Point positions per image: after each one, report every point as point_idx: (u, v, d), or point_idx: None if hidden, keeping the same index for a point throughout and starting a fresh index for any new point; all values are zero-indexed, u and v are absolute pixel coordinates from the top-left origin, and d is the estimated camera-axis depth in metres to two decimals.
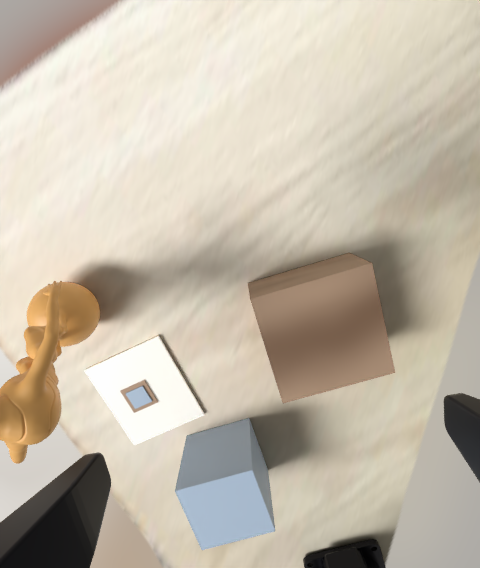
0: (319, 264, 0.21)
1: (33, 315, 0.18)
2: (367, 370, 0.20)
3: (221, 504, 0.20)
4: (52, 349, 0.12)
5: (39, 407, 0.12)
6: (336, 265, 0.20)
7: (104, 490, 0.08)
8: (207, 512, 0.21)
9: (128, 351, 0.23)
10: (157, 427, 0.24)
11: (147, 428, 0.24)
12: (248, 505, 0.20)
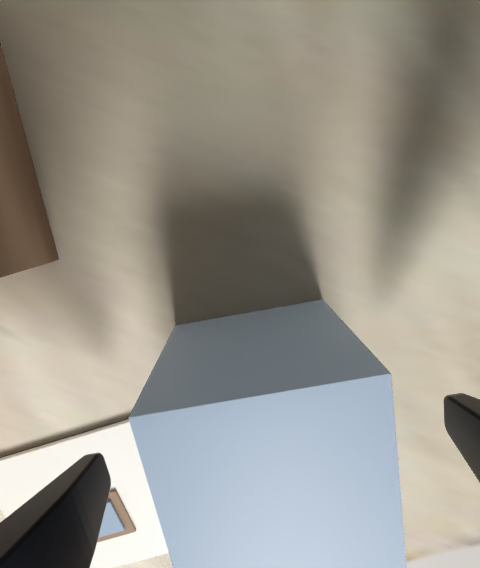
0: None
1: None
2: None
3: (251, 510, 0.07)
4: None
5: None
6: None
7: (104, 490, 0.08)
8: (272, 548, 0.07)
9: None
10: None
11: None
12: (266, 442, 0.06)
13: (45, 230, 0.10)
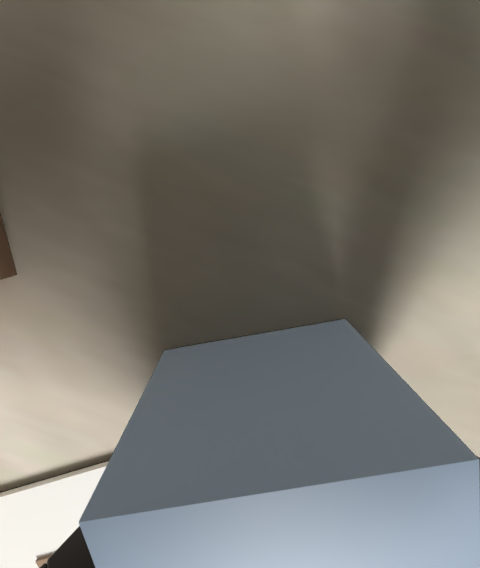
0: None
1: None
2: None
3: None
4: None
5: None
6: None
7: None
8: None
9: None
10: None
11: None
12: (286, 556, 0.04)
13: None
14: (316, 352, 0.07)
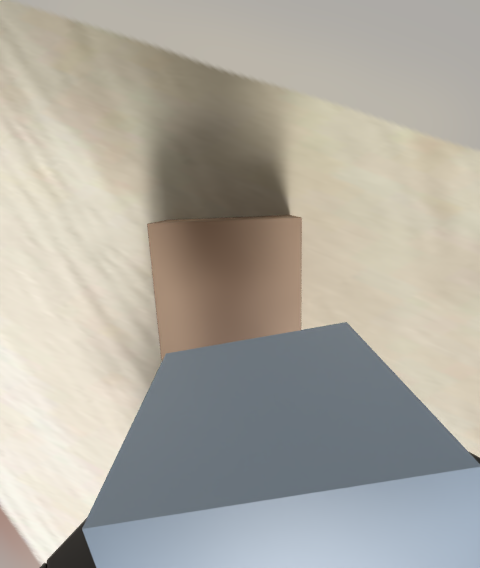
0: None
1: None
2: (287, 253, 0.15)
3: None
4: None
5: None
6: None
7: None
8: None
9: None
10: None
11: None
12: (289, 562, 0.04)
13: None
14: (318, 356, 0.07)
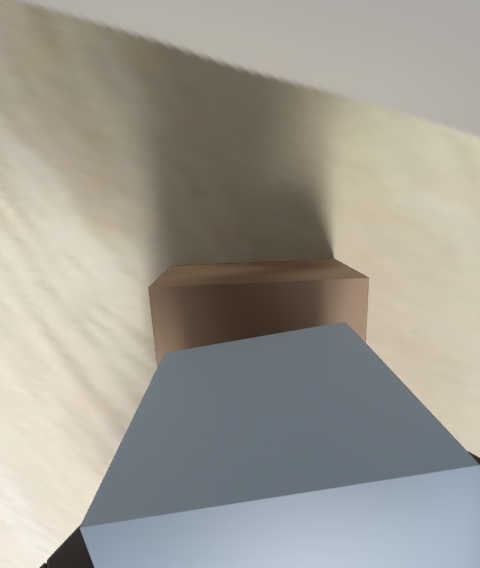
0: None
1: None
2: None
3: None
4: None
5: None
6: None
7: None
8: None
9: None
10: None
11: None
12: (288, 561, 0.04)
13: None
14: (317, 355, 0.07)
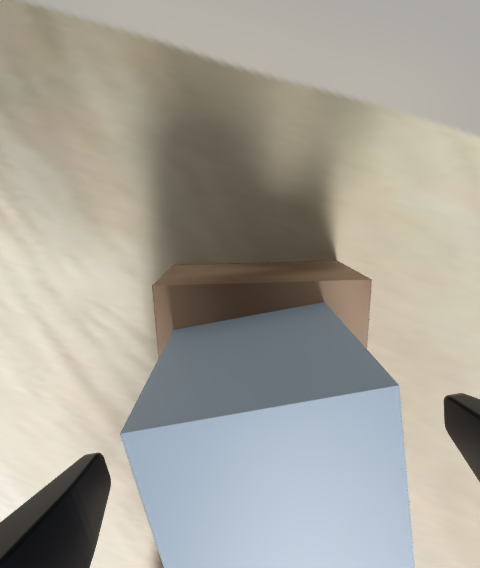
0: None
1: None
2: (348, 326, 0.11)
3: (251, 530, 0.06)
4: None
5: None
6: None
7: (104, 490, 0.08)
8: None
9: None
10: None
11: None
12: (267, 459, 0.06)
13: None
14: (297, 326, 0.09)
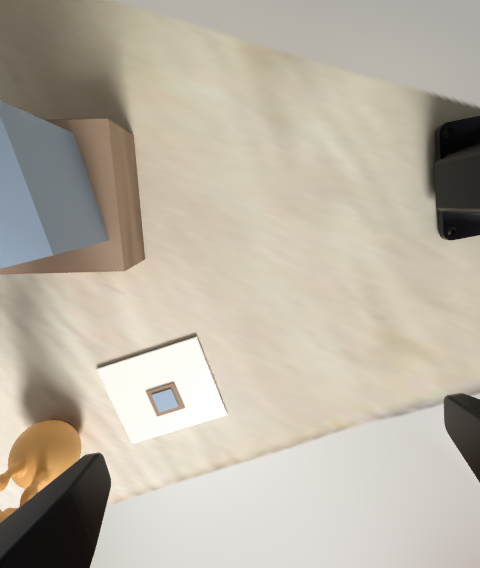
0: None
1: (21, 486, 0.19)
2: (97, 156, 0.15)
3: None
4: None
5: None
6: None
7: (104, 490, 0.08)
8: None
9: (112, 400, 0.22)
10: (206, 388, 0.22)
11: (207, 398, 0.22)
12: None
13: (142, 244, 0.19)
14: None
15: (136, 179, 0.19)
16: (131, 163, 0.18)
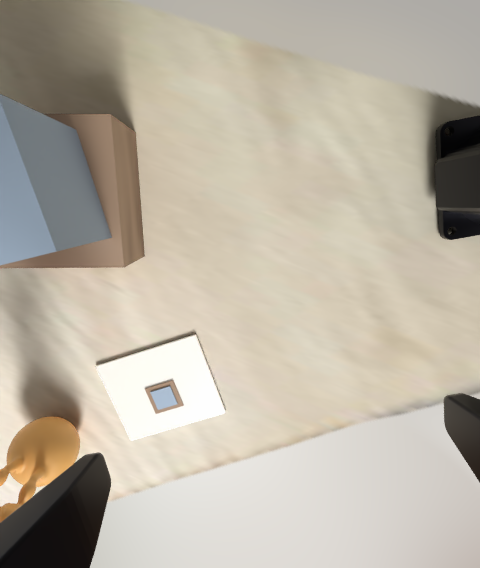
0: None
1: (19, 482, 0.19)
2: (99, 152, 0.15)
3: None
4: None
5: None
6: None
7: (104, 490, 0.08)
8: None
9: (111, 397, 0.22)
10: (205, 386, 0.22)
11: (205, 395, 0.22)
12: None
13: (142, 240, 0.19)
14: None
15: (137, 176, 0.19)
16: (133, 159, 0.18)
